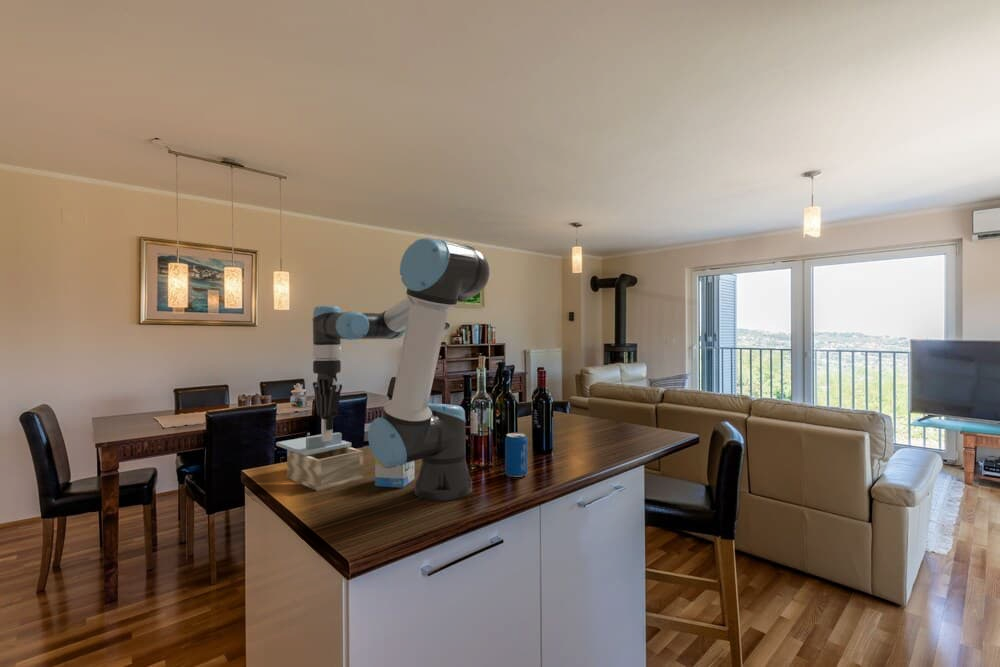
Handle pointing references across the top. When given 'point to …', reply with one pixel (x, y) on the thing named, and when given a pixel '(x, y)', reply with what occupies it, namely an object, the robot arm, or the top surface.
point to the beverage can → (516, 454)
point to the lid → (313, 444)
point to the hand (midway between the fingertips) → (327, 440)
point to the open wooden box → (325, 467)
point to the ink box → (393, 474)
